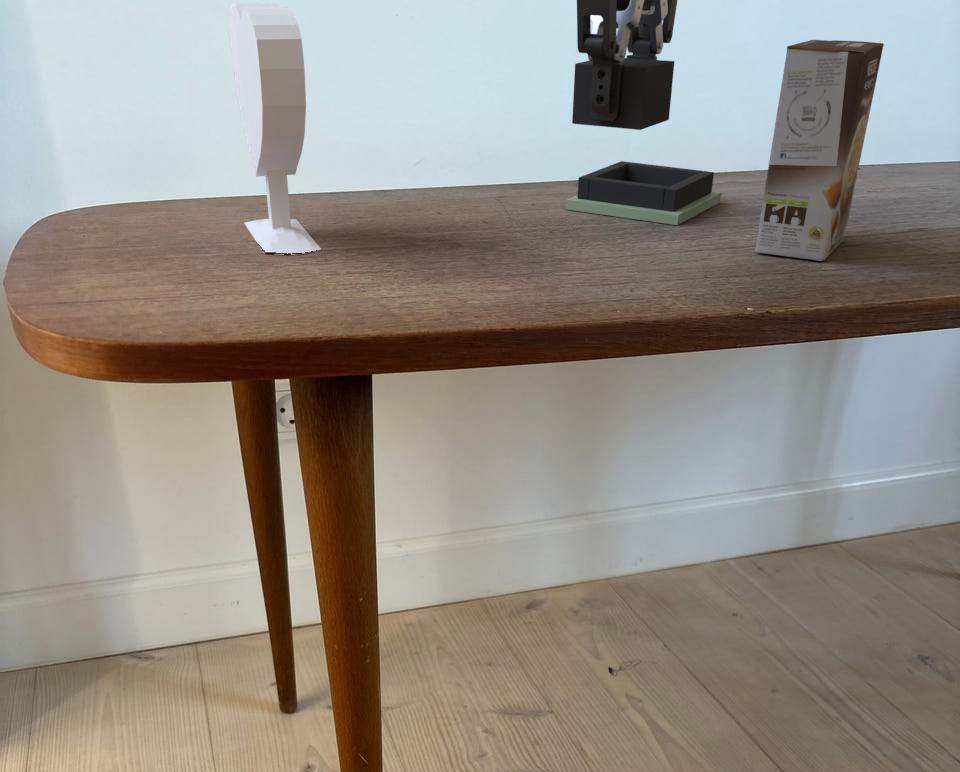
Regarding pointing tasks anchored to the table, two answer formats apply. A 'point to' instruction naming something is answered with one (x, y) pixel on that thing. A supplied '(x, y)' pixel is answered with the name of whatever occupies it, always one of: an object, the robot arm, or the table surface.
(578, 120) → the black block
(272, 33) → the heart sculpture
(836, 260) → the table surface
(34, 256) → the table surface
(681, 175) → the base pad
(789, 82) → the coffee box
